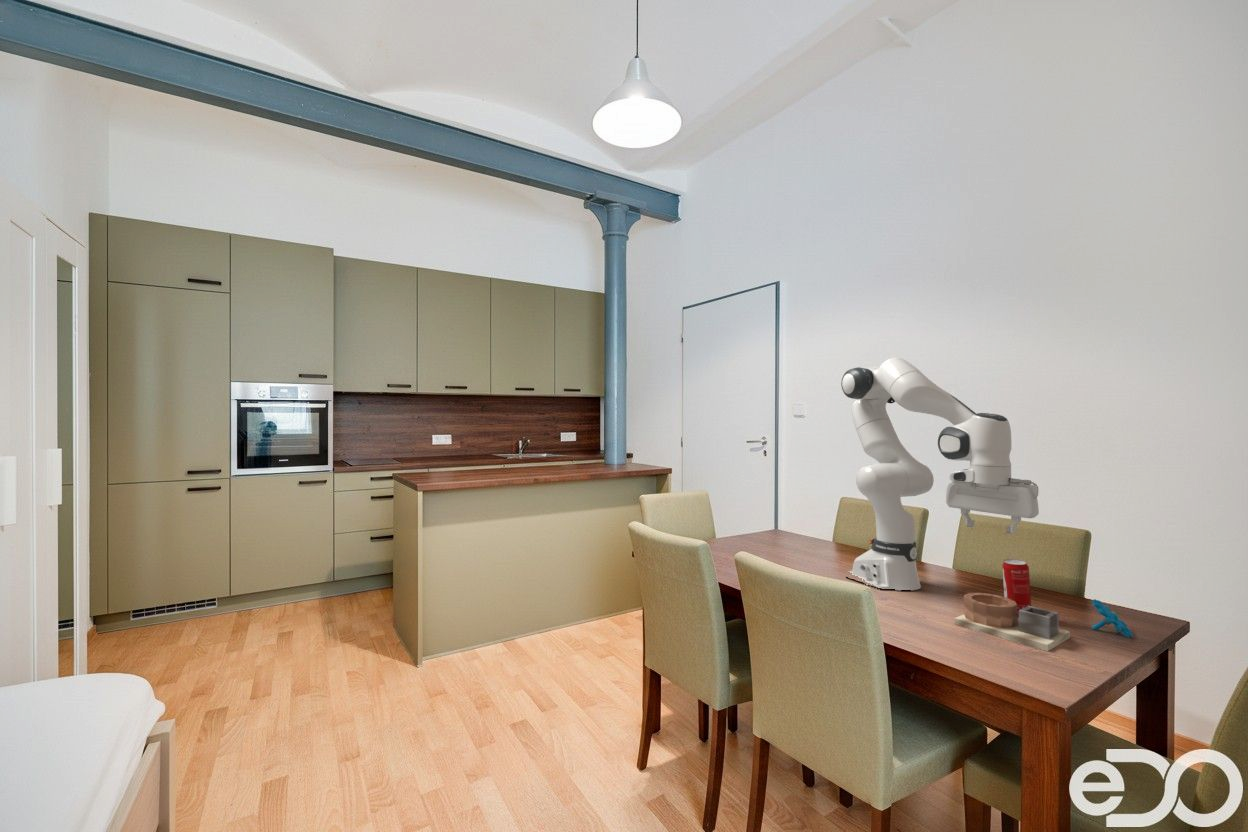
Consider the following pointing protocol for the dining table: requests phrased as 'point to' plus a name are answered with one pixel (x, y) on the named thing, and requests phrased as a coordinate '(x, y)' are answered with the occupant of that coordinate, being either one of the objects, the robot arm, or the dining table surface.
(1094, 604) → the blue bumpy branched piece
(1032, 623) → the cream base plate
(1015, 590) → the beverage can
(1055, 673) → the dining table surface
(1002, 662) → the dining table surface
